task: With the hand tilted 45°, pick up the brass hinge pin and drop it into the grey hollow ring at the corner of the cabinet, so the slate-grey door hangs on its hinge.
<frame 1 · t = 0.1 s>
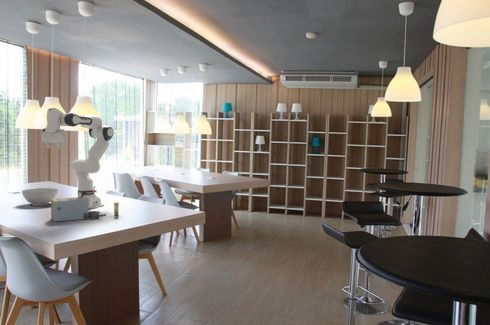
hand: (53, 148, 285), 48 cm above the table, tool pointing down, fingers open, 8 cm apart
grey hollow ring: (93, 218, 274), on the table
cabinet door: (71, 210, 265), on the table
decorative bowl: (40, 204, 323), on the table
hinge pin: (116, 216, 284), on the table
cabinet: (69, 208, 270), on the table
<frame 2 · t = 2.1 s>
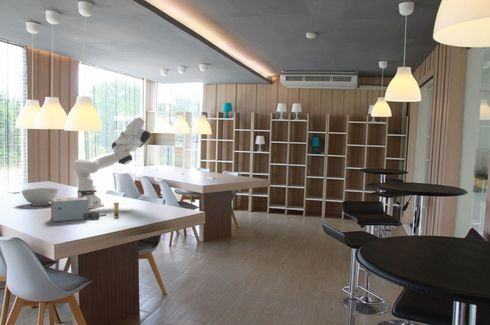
hand: (119, 149, 287), 49 cm above the table, tool tilted 35°, fingers open, 8 cm apart
nothing on the table moved.
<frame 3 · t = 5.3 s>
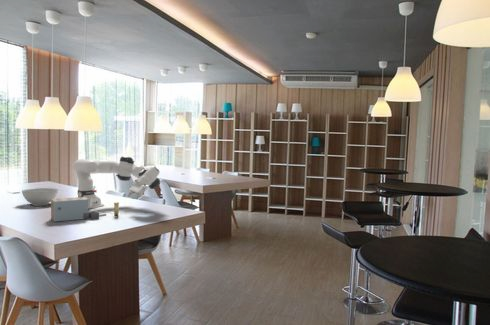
hand: (130, 197, 288), 13 cm above the table, tool tilted 45°, fingers open, 8 cm apart
nothing on the table moved.
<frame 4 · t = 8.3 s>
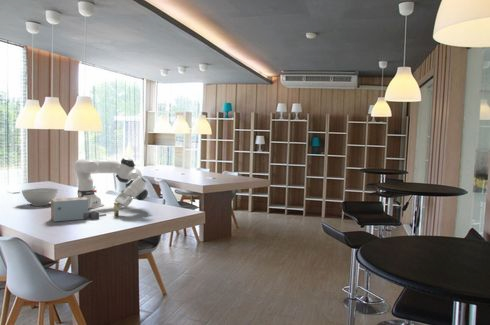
hand: (115, 208, 283), 6 cm above the table, tool tilted 45°, fingers closed on hinge pin, 3 cm apart
hinge pin: (116, 216, 284), on the table, touching gripper
everything else where it was.
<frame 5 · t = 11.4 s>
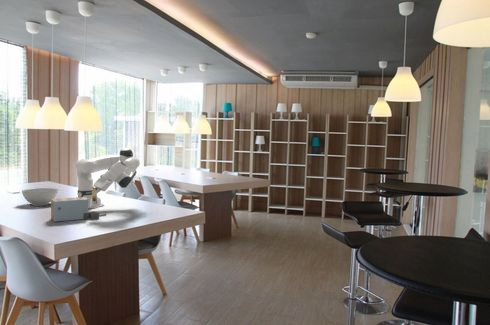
hand: (93, 193, 273), 18 cm above the table, tool tilted 45°, fingers closed on hinge pin, 3 cm apart
hinge pin: (94, 201, 274), point 12 cm above the table, touching gripper
everything else where it was.
when the fingers open (7 cm above the table, at t = 14.4 s): hinge pin drops 1 cm, resting in grey hollow ring.
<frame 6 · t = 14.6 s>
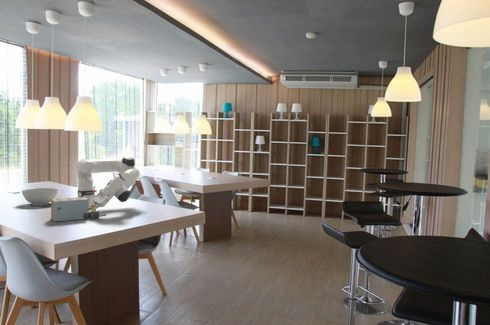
hand: (92, 208, 273), 7 cm above the table, tool tilted 45°, fingers open, 5 cm apart
hinge pin: (93, 218, 274), resting in grey hollow ring
everything else where it was.
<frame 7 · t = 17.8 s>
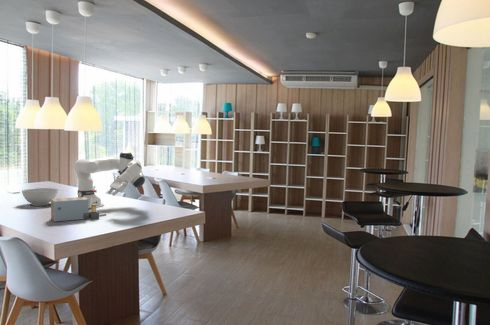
hand: (110, 194, 280), 17 cm above the table, tool tilted 45°, fingers open, 8 cm apart
nothing on the table moved.
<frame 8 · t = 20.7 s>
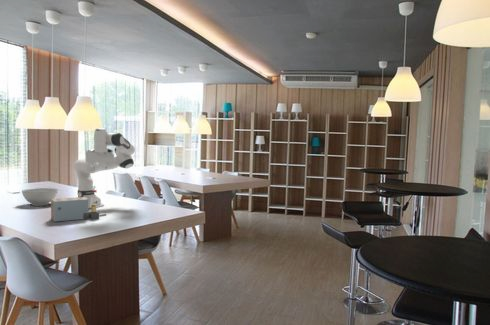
hand: (100, 168, 288), 34 cm above the table, tool pointing down, fingers open, 8 cm apart
nothing on the table moved.
at the end: hinge pin 0.1 cm off-centre on the grey hollow ring, point 0.0 cm above the grey hollow ring's base; hinge pin tilted 0°; the gripper is holding nothing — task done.
